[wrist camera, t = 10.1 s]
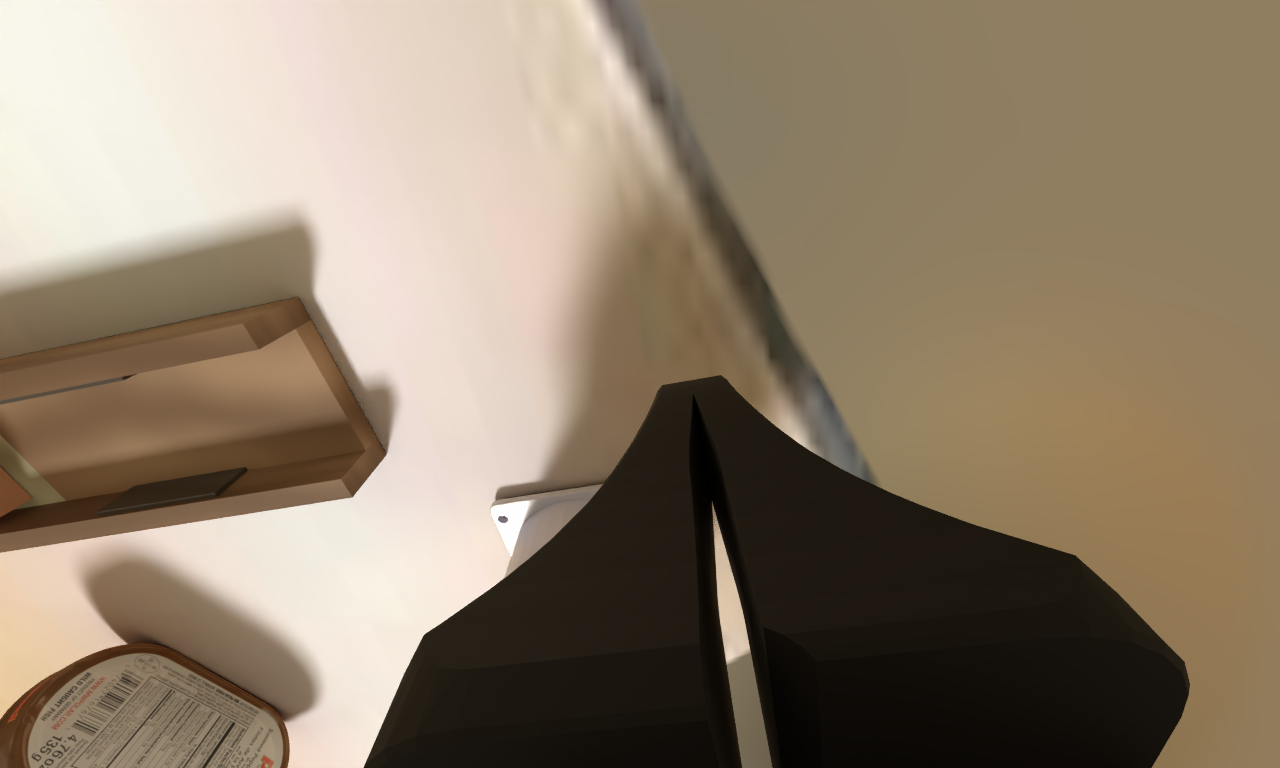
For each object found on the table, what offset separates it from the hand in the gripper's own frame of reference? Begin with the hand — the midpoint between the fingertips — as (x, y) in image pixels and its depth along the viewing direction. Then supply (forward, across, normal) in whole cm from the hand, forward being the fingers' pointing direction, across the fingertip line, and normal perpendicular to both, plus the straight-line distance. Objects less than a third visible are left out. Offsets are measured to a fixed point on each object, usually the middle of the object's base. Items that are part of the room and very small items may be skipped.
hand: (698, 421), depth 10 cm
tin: (+10, +35, +21) cm, 42 cm away
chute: (+10, +26, +2) cm, 28 cm away
